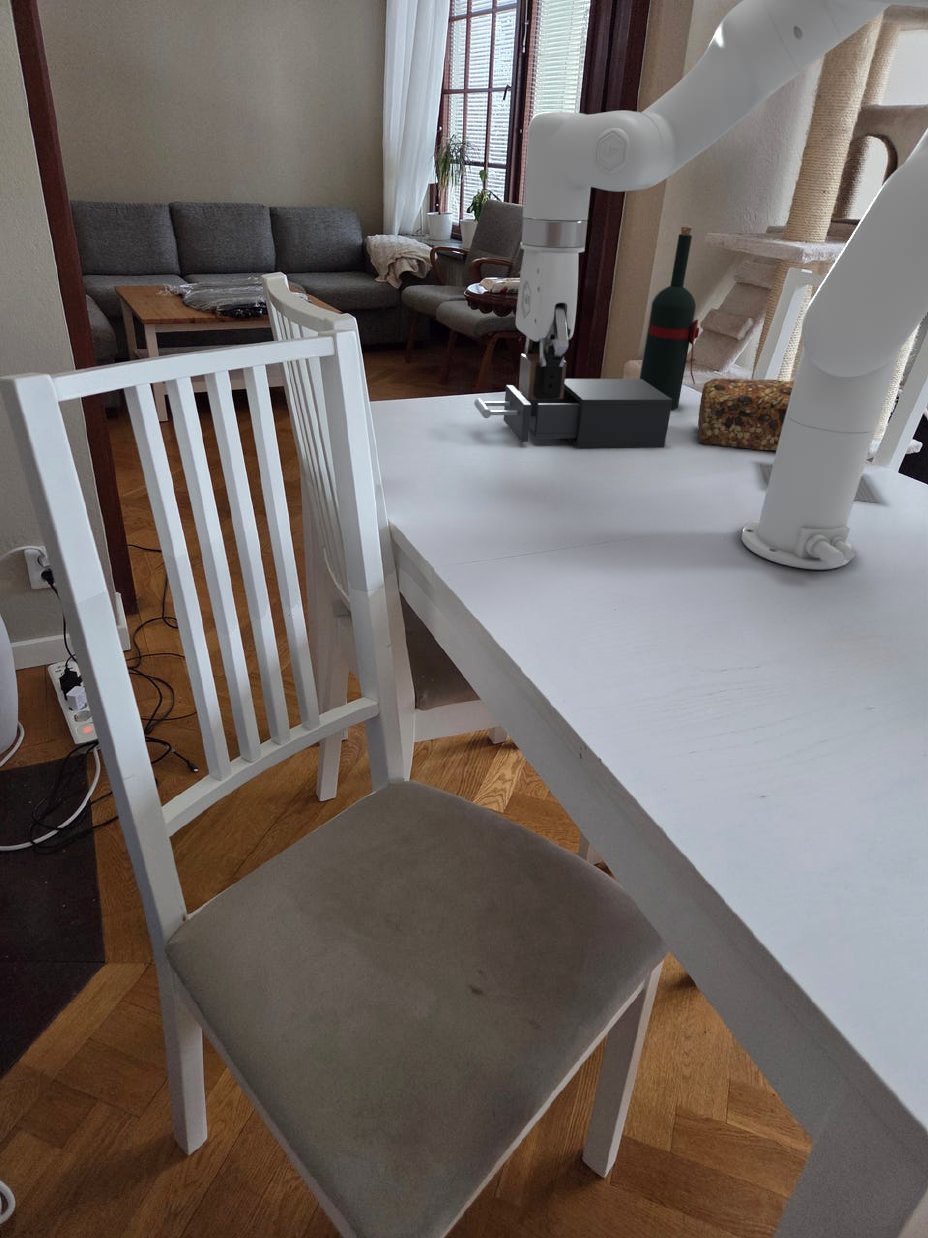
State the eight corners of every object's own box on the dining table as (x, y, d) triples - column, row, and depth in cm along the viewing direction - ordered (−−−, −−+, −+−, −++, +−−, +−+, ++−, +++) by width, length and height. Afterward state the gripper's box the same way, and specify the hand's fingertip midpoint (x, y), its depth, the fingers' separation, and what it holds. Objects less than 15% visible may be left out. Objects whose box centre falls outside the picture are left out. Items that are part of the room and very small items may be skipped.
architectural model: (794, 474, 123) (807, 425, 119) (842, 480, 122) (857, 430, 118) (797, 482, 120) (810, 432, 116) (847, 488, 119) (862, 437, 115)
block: (563, 398, 104) (566, 361, 102) (528, 399, 103) (530, 361, 101) (552, 389, 108) (555, 353, 105) (518, 390, 107) (520, 353, 105)
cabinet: (576, 448, 128) (582, 399, 124) (553, 424, 139) (558, 378, 135) (664, 447, 131) (672, 399, 127) (634, 423, 142) (642, 378, 138)
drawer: (484, 442, 125) (487, 404, 123) (469, 420, 135) (471, 384, 132) (603, 441, 129) (608, 404, 126) (580, 419, 139) (585, 385, 136)
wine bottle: (688, 414, 148) (723, 231, 133) (632, 407, 151) (660, 226, 136) (692, 404, 155) (726, 228, 140) (638, 397, 157) (665, 223, 142)
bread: (807, 438, 139) (823, 378, 134) (816, 458, 130) (833, 395, 125) (694, 426, 142) (706, 367, 137) (695, 444, 133) (708, 382, 128)
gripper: (504, 229, 103) (496, 377, 112) (543, 242, 88) (530, 411, 97) (561, 230, 104) (549, 376, 113) (609, 244, 90) (590, 410, 99)
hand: (540, 391), depth 105 cm, fingers closed on block, 4 cm apart
